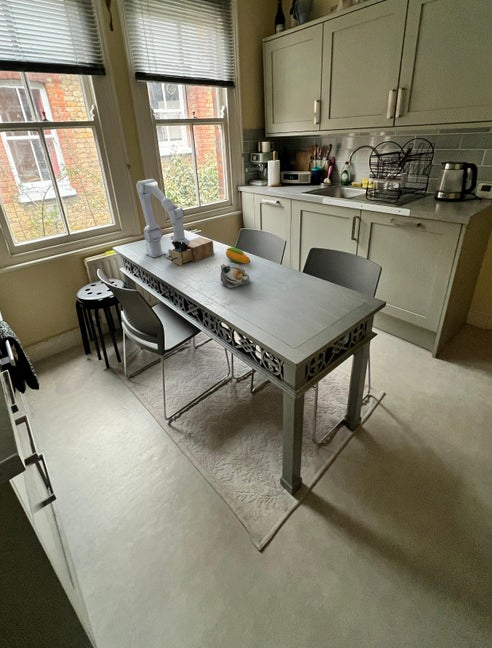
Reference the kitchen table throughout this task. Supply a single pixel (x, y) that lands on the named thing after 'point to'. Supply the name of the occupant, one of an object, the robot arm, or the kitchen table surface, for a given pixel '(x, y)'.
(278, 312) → the kitchen table surface
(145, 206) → the robot arm
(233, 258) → the corn
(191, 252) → the drawer
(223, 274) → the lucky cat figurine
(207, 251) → the cabinet
